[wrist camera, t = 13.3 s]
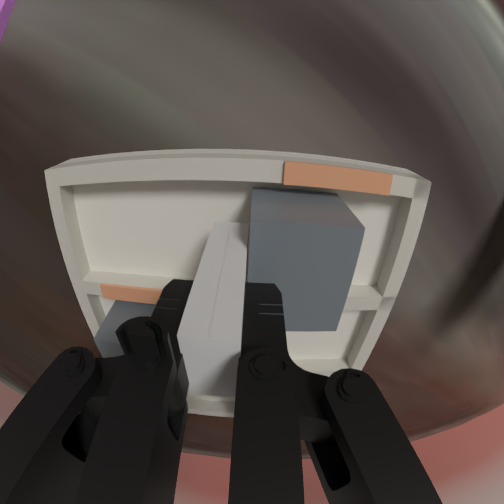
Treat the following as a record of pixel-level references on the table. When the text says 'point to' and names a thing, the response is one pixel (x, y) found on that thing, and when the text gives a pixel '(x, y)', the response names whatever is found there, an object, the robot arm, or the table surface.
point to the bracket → (5, 14)
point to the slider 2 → (304, 253)
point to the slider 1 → (113, 320)
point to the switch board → (227, 210)
